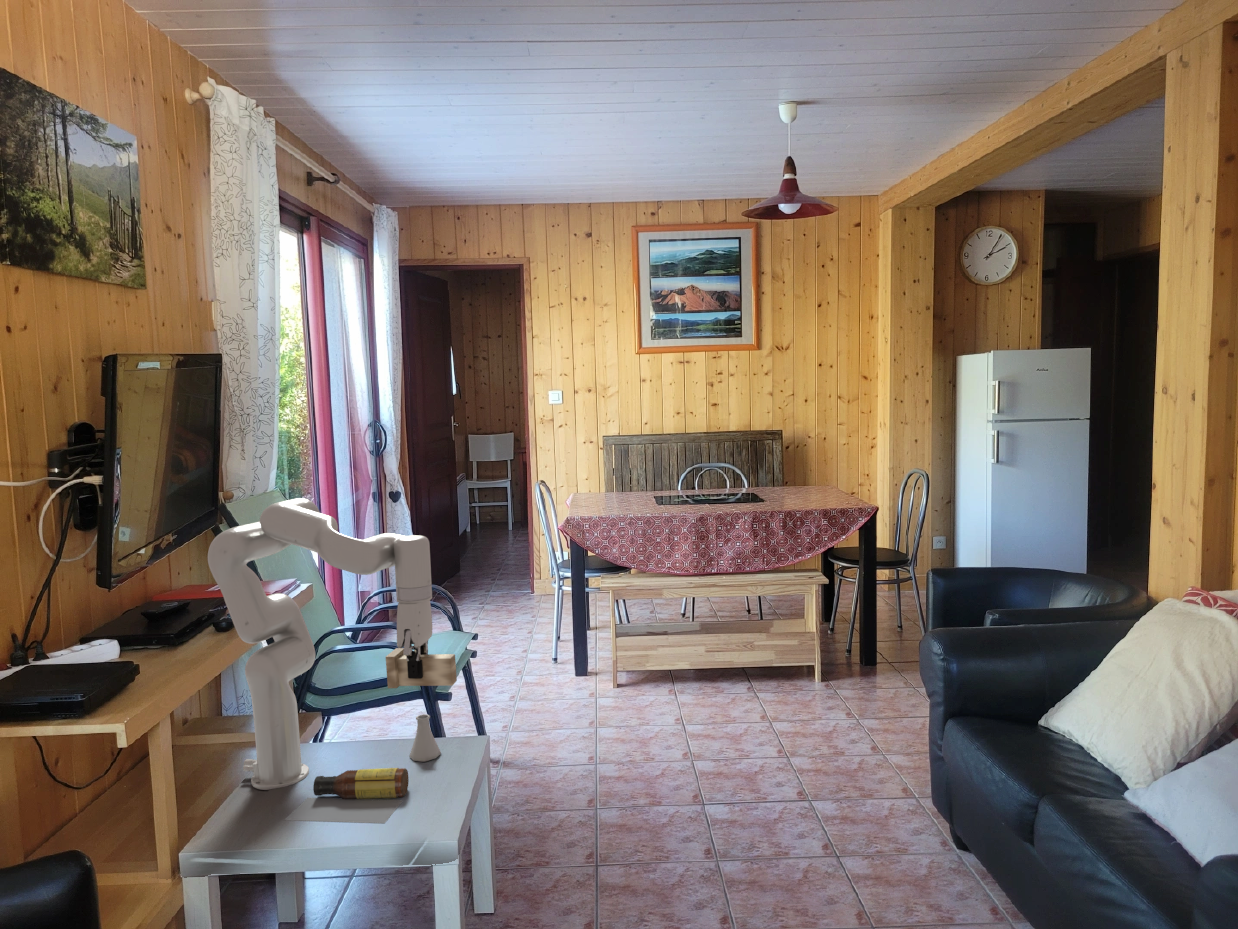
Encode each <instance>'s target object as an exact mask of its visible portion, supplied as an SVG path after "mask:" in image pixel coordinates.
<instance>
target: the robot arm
mask: <svg viewBox="0 0 1238 929" xmlns="http://www.w3.org/2000/svg"><path fill="white" fill-rule="evenodd" d="M260 514H261V515H260V517H259V521H255V522H251V523H247V524H241V525H238V526H237V525H236V526H233V527H231V528H228V529H226V530H223V531H222V532H220V533H219V534H217V535H216V536H215V537H214V539H213V540H212V541H211V543H210V545H209V548H208V552H207V563H208V564H207V565H208V568H209V570H210V572H211V574H212V577H213V579H214V580H215V583H216V584H217V586H218V588H219V590H220V592H221V594H222V597H223V600H224V602H225V605H226V607H227V609H228V612H229V613H228V614H229V615H230V619H231V620H232V624H233V626H234V629H235V630H236V633H237V635H238V637H239V639H240V640H241V641H243V642H244V643H246V644H257V643H260V642H264V641H266V640H268V639H270V638H271V639H272V638H273V640H274V641H273V642H272V643H270V644H267V645H265V646H263V647H261V648H259V649H258V650H255V652H253V653H252V654H251V655H250V656H249V658H248V659H247V661H246V664H245V667H244V674H245V679H246V682H247V685H248V689H249V693H250V697H251V699H250V700H251V705H252V715H253V716H252V717H253V724H254V725H253V726H254V727H253V728H254V738H255V753H256V759H251V758H247V759H245V760H244V762H243V768H242V771H243V772H252V773H253V775H252V777H250V778H251V780H250V783H251V786H252V787H253V788H255V789H257V790H262V791H263V790H264V791H269V790H271V789H272V790H273V789H279V788H280V789H281V788H285V787H288V786H291V785H294V784H296V783H299V782H301V781H302V780H304V779H305V778H307V776H308V775H309V773H310V768H309V766H308V765H307V764H305V763H302V753H301V740H300V739H301V738H300V727H299V726H300V725H299V715H298V703H297V702H298V701H297V698H296V695H295V693H294V691H293V689H292V688H291V686H290V683H289V682H290V681H291V680H294V679H295V678H297V677H299V676H301V675H302V674H305V673H306V672H307V671H308V670H309V671H310V669H311V668H312V667H313V665H314V663H315V662H316V650H315V646H314V645H315V644H314V642H313V640H312V638H311V635H310V632H309V630H308V627H307V624H306V622H305V619H304V616H303V614H302V612H301V610H300V609H301V608H300V607H299V605H298V604H297V602H296V601H295V600H294V599H293V597H291V596H289V595H287V594H285V593H276V592H275V593H272V594H268V595H267V593H266V592H265V589H264V587H263V584H262V582H261V579H260V578H259V576H258V575H257V573H255V571H253V569H251V568H250V567H249V566H248V565H247V564H248V563H249V562H251V561H252V562H253V561H255V560H256V561H257V560H259V559H263V558H267V557H268V556H269V557H271V556H273V555H275V554H277V553H280V552H282V551H283V550H285V549H286V548H288V547H290V546H293V545H294V546H296V547H300V548H302V549H305V550H308V551H311V552H314V553H317V554H318V556H319V557H320V558H321V559H322V560H323V561H324V562H325V563H327V565H330V566H332V568H335V569H339V570H342V571H345V572H348V573H351V574H356V575H361V576H364V575H365V576H368V575H372V574H375V573H378V572H380V571H383V570H386V569H390V568H391V567H394V571H395V573H394V575H395V576H394V577H395V591H396V592H395V593H396V602H397V609H396V610H397V611H396V612H397V613H396V645H397V646H396V647H397V648H404V652H403V654H404V655H405V656H406V660H407V667H408V678H410V679H421V678H422V677H423V665H422V660H420V655H422V654H429V646H428V645H429V640H430V639H431V637H432V636H433V614H432V606H431V600H432V599H433V590H432V588H433V587H432V584H433V583H432V567H431V548H430V546H431V545H430V540H429V538H428V537H427V536H425V535H421V534H419V535H415V534H412V535H402V534H397V533H393V532H392V533H391V532H385V533H379V534H377V535H373V536H369V537H367V538H364V539H360V538H356V537H355V538H354V537H352V536H349V535H345V534H342V533H339V531H338V530H339V526H338V522H337V520H336V518H334V517H333V516H331V515H328V514H325V513H322V512H320V509H319V508H318V506H317V505H316V504H315V503H314V502H313V501H312V500H310V499H307V498H303V497H302V498H301V497H296V498H292V499H287V500H283V501H278V502H275V503H271V504H270V505H268V506H267V507H266V508H264V509H263V510H262V512H261V513H260Z"/></svg>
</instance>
